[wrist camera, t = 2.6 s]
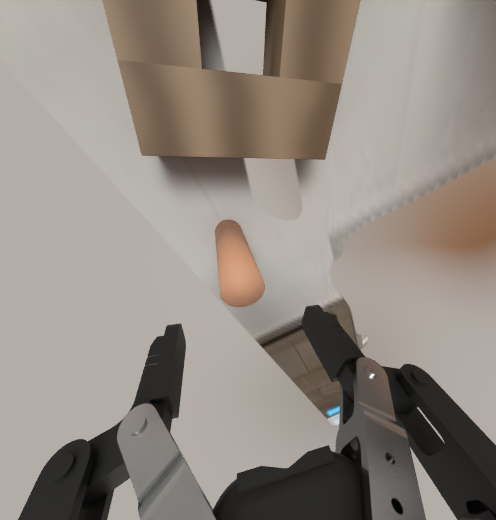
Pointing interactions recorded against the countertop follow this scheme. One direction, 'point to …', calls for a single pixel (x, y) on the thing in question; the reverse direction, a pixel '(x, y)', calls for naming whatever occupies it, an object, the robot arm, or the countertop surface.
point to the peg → (236, 266)
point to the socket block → (232, 80)
